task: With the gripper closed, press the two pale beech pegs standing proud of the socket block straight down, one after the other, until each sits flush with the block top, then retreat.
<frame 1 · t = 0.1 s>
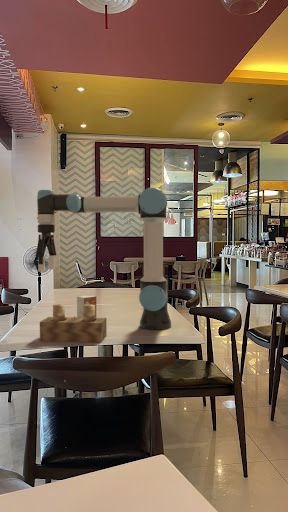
hand: (46, 270, 185), 28 cm above the table, fingers open, 13 cm apart
small box: (86, 321, 208), on the table
socket block: (74, 338, 172), on the table
far peg: (58, 314, 172), point 10 cm above the table, slide at 6.0 cm
near peg: (88, 314, 171), point 10 cm above the table, slide at 6.0 cm
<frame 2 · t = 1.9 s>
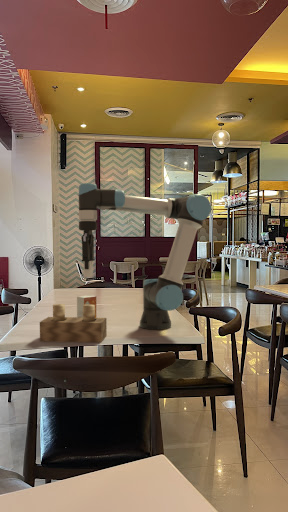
hand: (88, 276, 170), 27 cm above the table, fingers open, 3 cm apart
nothing on the table moved.
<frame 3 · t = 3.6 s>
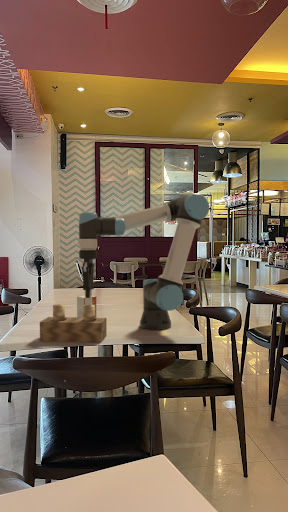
hand: (88, 305, 171), 14 cm above the table, fingers closed
near peg: (88, 315, 171), point 10 cm above the table, slide at 5.9 cm, touching gripper
everything else where it was.
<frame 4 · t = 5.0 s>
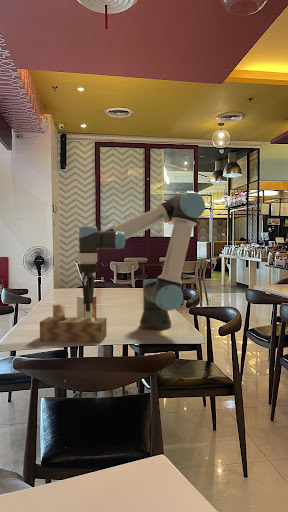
hand: (88, 318, 171), 9 cm above the table, fingers closed
near peg: (88, 328, 171), point 4 cm above the table, slide at 0.1 cm, touching gripper
everything else where it was.
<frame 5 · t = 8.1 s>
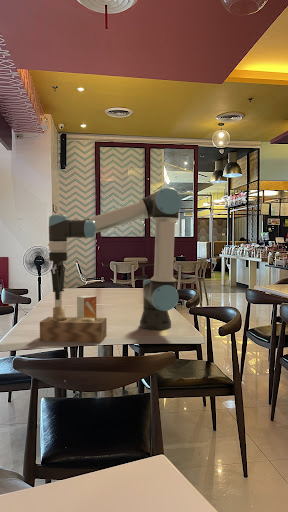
hand: (58, 306, 172), 13 cm above the table, fingers closed
far peg: (58, 316, 172), point 9 cm above the table, slide at 4.9 cm, touching gripper
near peg: (88, 328, 171), point 4 cm above the table, slide at 0.1 cm
everything else where it was.
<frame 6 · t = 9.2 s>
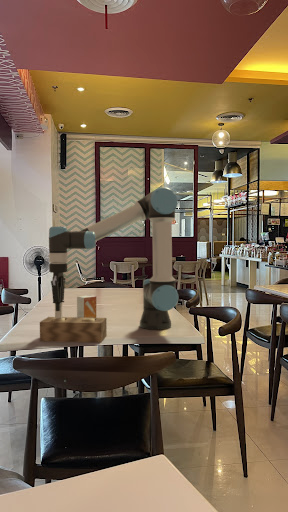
hand: (58, 318, 172), 9 cm above the table, fingers closed
far peg: (59, 327, 173), point 4 cm above the table, slide at 0.1 cm, touching gripper
everything else where it was.
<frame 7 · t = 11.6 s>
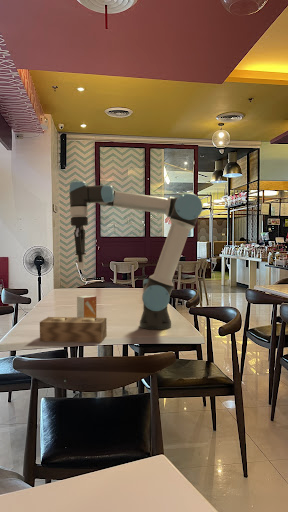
hand: (81, 269, 181), 29 cm above the table, fingers closed
far peg: (59, 327, 173), point 4 cm above the table, slide at 0.1 cm
everything else where it was.
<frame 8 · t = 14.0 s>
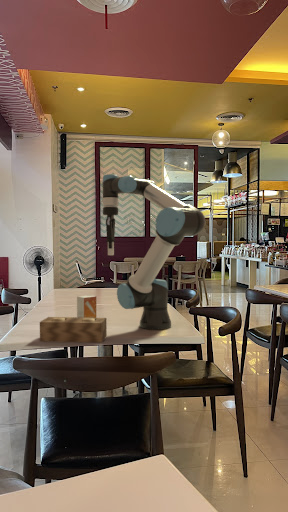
hand: (110, 255, 198), 34 cm above the table, fingers closed
nothing on the table moved.
at the end: near peg slide at 0.1 cm; far peg slide at 0.1 cm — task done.
